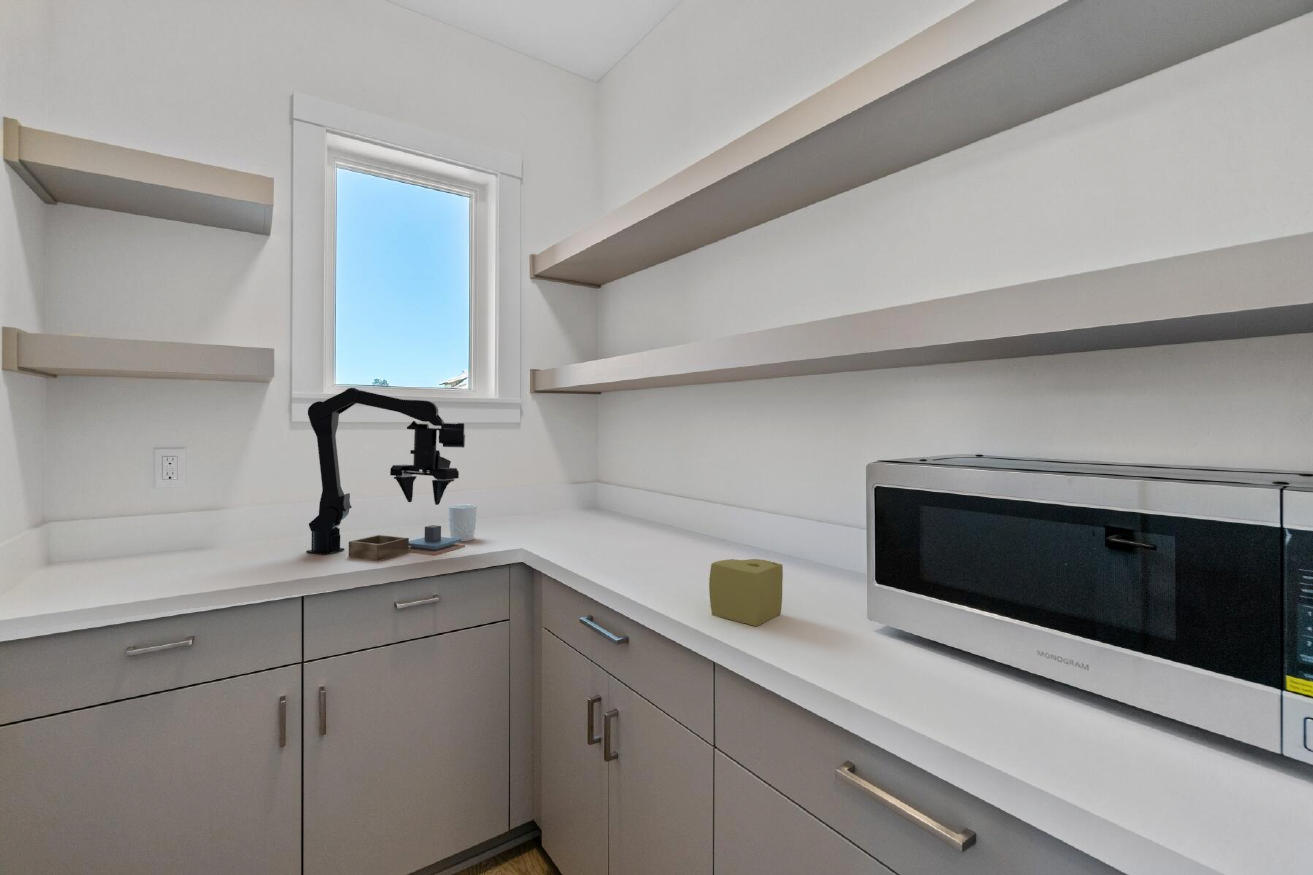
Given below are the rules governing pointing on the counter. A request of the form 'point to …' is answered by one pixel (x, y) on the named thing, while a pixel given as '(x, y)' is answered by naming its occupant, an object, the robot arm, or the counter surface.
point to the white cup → (462, 521)
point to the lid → (433, 539)
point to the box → (378, 547)
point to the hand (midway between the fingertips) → (423, 503)
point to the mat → (436, 552)
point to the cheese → (746, 590)
